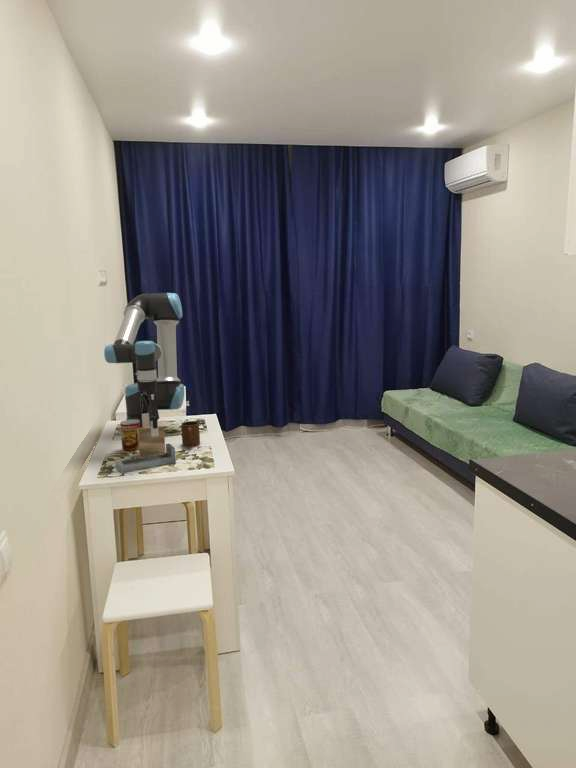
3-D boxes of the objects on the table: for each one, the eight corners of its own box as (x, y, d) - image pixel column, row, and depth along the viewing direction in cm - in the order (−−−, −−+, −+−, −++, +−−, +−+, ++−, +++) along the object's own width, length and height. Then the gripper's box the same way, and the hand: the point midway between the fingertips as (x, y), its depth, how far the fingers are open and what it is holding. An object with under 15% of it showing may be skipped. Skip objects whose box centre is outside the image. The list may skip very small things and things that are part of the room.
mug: (199, 449, 237) (198, 427, 236) (181, 450, 236) (179, 428, 235) (200, 441, 249) (199, 420, 247) (182, 442, 248) (181, 421, 246)
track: (116, 467, 217) (115, 452, 216) (170, 457, 227) (169, 443, 226) (120, 472, 211) (119, 457, 210) (175, 462, 221) (174, 448, 220)
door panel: (139, 457, 229) (137, 428, 227) (163, 453, 234) (161, 424, 231) (141, 459, 226) (138, 430, 224) (165, 454, 231) (163, 426, 229)
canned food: (119, 452, 236) (117, 424, 234) (125, 446, 244) (123, 419, 242) (138, 452, 236) (136, 424, 234) (143, 446, 244) (141, 419, 241)
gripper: (130, 377, 233) (133, 427, 237) (145, 385, 212) (149, 440, 215) (148, 375, 237) (151, 424, 240) (165, 383, 215) (168, 438, 219)
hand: (150, 432), depth 228 cm, fingers open, 13 cm apart
